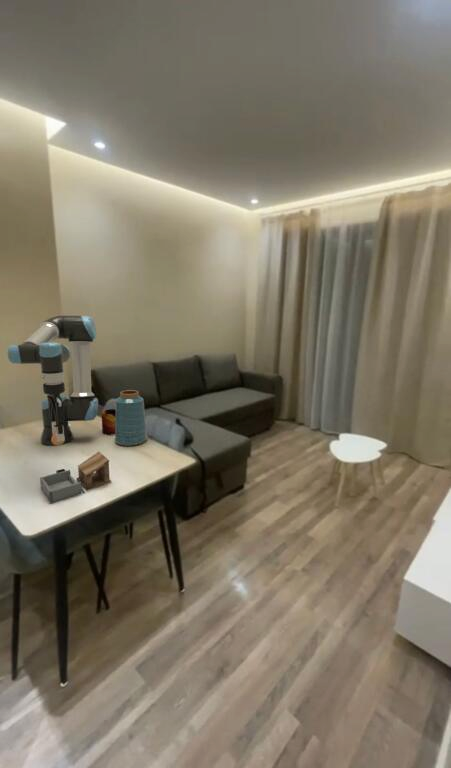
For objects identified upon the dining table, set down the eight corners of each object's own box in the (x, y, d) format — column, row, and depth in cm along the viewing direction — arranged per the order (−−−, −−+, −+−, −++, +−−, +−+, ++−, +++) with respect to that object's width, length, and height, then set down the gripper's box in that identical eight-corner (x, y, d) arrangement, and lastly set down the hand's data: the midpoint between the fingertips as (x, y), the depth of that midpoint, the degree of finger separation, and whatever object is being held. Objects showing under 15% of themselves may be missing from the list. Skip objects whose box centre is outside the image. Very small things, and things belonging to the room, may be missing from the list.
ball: (50, 444, 140) (49, 432, 139) (63, 441, 143) (62, 430, 142) (53, 448, 136) (52, 436, 135) (66, 445, 139) (66, 433, 138)
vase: (121, 435, 190) (119, 388, 185) (150, 436, 190) (149, 388, 184) (110, 446, 174) (107, 395, 169) (142, 447, 174) (140, 396, 168)
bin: (41, 488, 133) (40, 477, 132) (70, 479, 140) (69, 469, 139) (50, 503, 123) (49, 492, 122) (81, 493, 130) (80, 482, 129)
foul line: (71, 479, 140) (71, 479, 140) (73, 478, 141) (73, 478, 141) (83, 493, 130) (83, 493, 130) (85, 492, 130) (85, 492, 130)
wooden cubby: (76, 479, 140) (75, 456, 138) (101, 472, 147) (99, 450, 144) (86, 490, 132) (84, 466, 130) (111, 482, 138) (110, 459, 136)
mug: (129, 432, 195) (128, 412, 192) (104, 436, 188) (103, 415, 185) (125, 427, 203) (124, 407, 200) (101, 430, 196) (99, 410, 194)
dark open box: (56, 476, 143) (56, 470, 142) (64, 474, 144) (63, 468, 144) (58, 479, 140) (58, 473, 140) (66, 476, 142) (66, 471, 142)
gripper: (37, 379, 138) (42, 434, 143) (49, 388, 125) (54, 448, 130) (57, 377, 143) (61, 430, 148) (71, 385, 130) (75, 443, 135)
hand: (58, 438), depth 139 cm, fingers closed on ball, 5 cm apart
